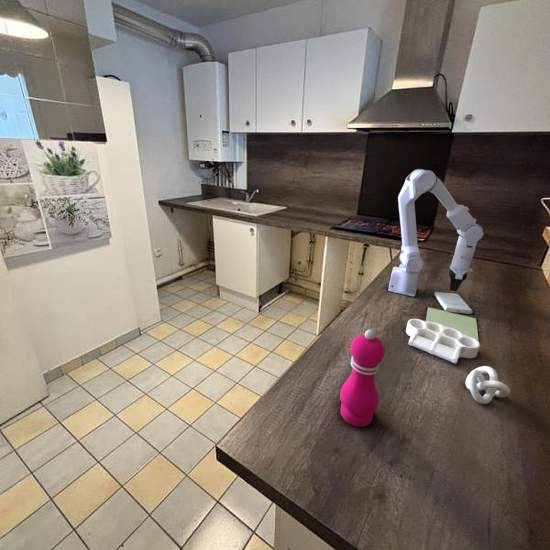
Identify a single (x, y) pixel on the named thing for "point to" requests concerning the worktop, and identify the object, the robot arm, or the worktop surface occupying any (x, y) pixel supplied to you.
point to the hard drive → (452, 303)
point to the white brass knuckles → (441, 340)
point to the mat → (454, 321)
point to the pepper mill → (362, 380)
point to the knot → (486, 385)
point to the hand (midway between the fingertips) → (453, 290)
